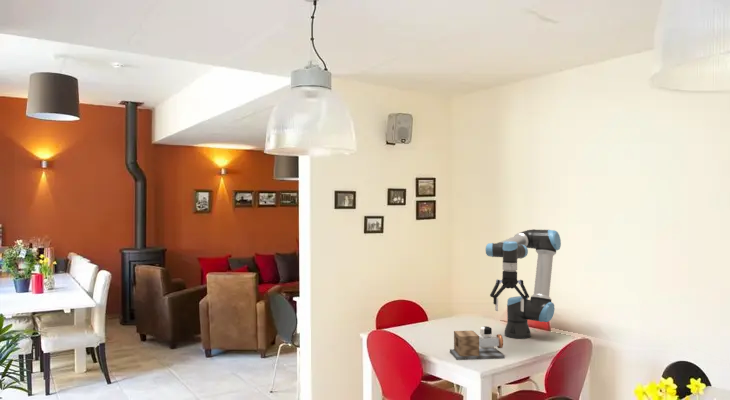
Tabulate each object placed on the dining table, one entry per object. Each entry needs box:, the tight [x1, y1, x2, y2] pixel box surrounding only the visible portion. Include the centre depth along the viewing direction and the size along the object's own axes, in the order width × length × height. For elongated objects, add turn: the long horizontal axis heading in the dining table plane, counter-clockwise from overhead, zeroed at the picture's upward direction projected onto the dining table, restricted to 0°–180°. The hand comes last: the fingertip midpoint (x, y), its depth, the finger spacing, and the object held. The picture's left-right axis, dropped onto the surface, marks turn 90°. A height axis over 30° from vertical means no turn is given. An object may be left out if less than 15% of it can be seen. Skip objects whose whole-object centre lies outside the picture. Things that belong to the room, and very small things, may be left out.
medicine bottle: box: [478, 326, 495, 349], centre depth 295 cm, size 7×7×12 cm
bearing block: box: [449, 330, 506, 361], centre depth 283 cm, size 25×14×12 cm, turn 95°
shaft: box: [479, 333, 504, 349], centre depth 284 cm, size 18×7×7 cm, turn 95°
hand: (509, 311), depth 287 cm, fingers open, 13 cm apart
